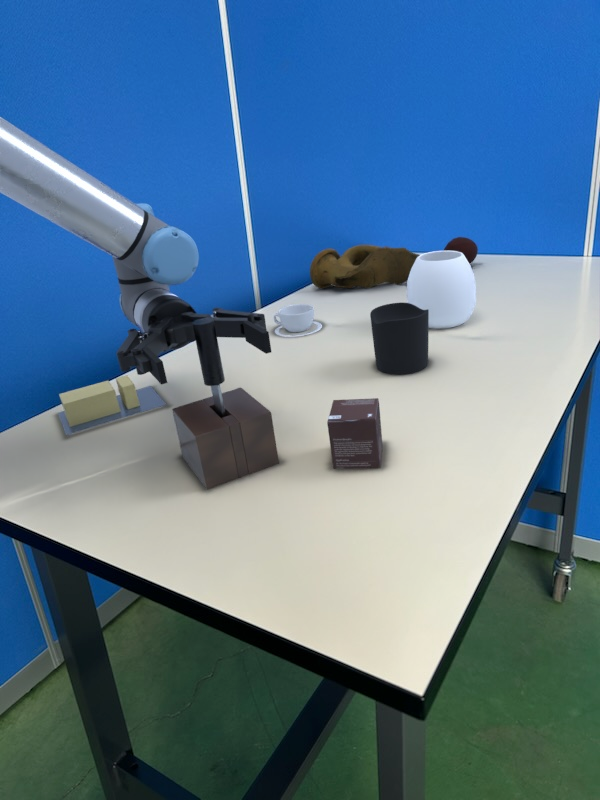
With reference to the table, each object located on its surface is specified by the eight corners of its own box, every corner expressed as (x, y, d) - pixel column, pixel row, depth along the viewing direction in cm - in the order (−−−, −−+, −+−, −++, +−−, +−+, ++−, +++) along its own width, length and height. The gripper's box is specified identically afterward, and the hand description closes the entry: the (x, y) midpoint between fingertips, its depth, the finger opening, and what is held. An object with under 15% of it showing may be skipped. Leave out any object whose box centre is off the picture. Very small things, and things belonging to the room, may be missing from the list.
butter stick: (70, 427, 98) (63, 404, 96) (65, 416, 102) (58, 394, 100) (120, 411, 101) (114, 389, 99) (114, 401, 105) (108, 380, 103)
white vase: (396, 330, 123) (392, 262, 117) (426, 310, 132) (424, 246, 126) (459, 337, 115) (458, 265, 109) (486, 315, 124) (487, 248, 119)
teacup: (327, 322, 133) (324, 301, 131) (316, 338, 124) (313, 316, 122) (282, 323, 136) (279, 303, 134) (268, 339, 127) (265, 317, 125)
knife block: (207, 493, 77) (195, 436, 74) (183, 460, 86) (171, 408, 82) (279, 466, 81) (271, 411, 78) (249, 437, 89) (240, 387, 86)
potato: (483, 267, 158) (483, 236, 154) (449, 273, 157) (448, 242, 153) (470, 261, 165) (470, 231, 162) (436, 266, 164) (436, 237, 161)
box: (383, 447, 82) (380, 397, 79) (381, 471, 77) (376, 419, 74) (338, 448, 83) (332, 399, 80) (332, 472, 78) (326, 420, 75)
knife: (225, 471, 82) (196, 326, 73) (217, 462, 84) (188, 321, 76) (243, 464, 82) (217, 321, 74) (235, 455, 85) (208, 315, 77)
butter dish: (67, 440, 96) (66, 434, 95) (59, 418, 104) (57, 412, 103) (167, 409, 102) (166, 404, 101) (151, 390, 110) (150, 385, 109)
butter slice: (127, 409, 101) (122, 387, 99) (121, 399, 105) (115, 378, 104) (140, 406, 102) (134, 383, 100) (132, 396, 106) (127, 374, 104)
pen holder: (431, 356, 109) (430, 301, 104) (428, 378, 100) (426, 319, 96) (378, 357, 111) (374, 303, 107) (370, 378, 103) (366, 321, 99)
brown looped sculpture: (370, 273, 136) (300, 250, 149) (379, 319, 145) (312, 294, 158) (421, 230, 143) (350, 212, 157) (426, 277, 152) (358, 256, 166)
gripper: (246, 322, 98) (310, 358, 81) (88, 365, 89) (121, 416, 72) (239, 276, 95) (303, 303, 78) (73, 315, 86) (105, 355, 68)
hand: (216, 357), depth 75 cm, fingers open, 13 cm apart
